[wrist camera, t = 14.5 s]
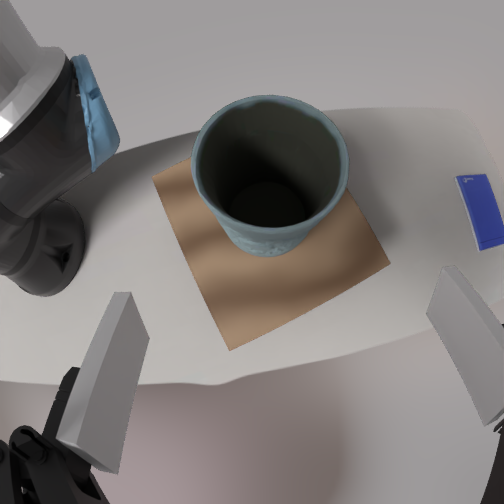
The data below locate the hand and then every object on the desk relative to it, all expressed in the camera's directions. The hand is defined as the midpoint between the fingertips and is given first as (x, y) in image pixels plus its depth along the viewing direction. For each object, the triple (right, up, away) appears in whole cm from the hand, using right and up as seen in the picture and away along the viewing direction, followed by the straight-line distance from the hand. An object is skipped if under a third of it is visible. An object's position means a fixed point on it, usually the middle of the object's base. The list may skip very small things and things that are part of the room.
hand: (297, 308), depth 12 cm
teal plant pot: (0, +6, +18) cm, 19 cm away
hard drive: (+36, +9, +26) cm, 45 cm away
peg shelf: (0, +4, +25) cm, 26 cm away
